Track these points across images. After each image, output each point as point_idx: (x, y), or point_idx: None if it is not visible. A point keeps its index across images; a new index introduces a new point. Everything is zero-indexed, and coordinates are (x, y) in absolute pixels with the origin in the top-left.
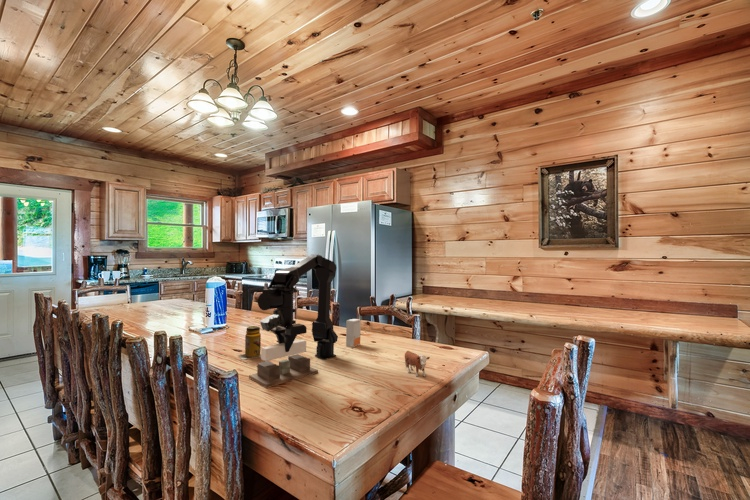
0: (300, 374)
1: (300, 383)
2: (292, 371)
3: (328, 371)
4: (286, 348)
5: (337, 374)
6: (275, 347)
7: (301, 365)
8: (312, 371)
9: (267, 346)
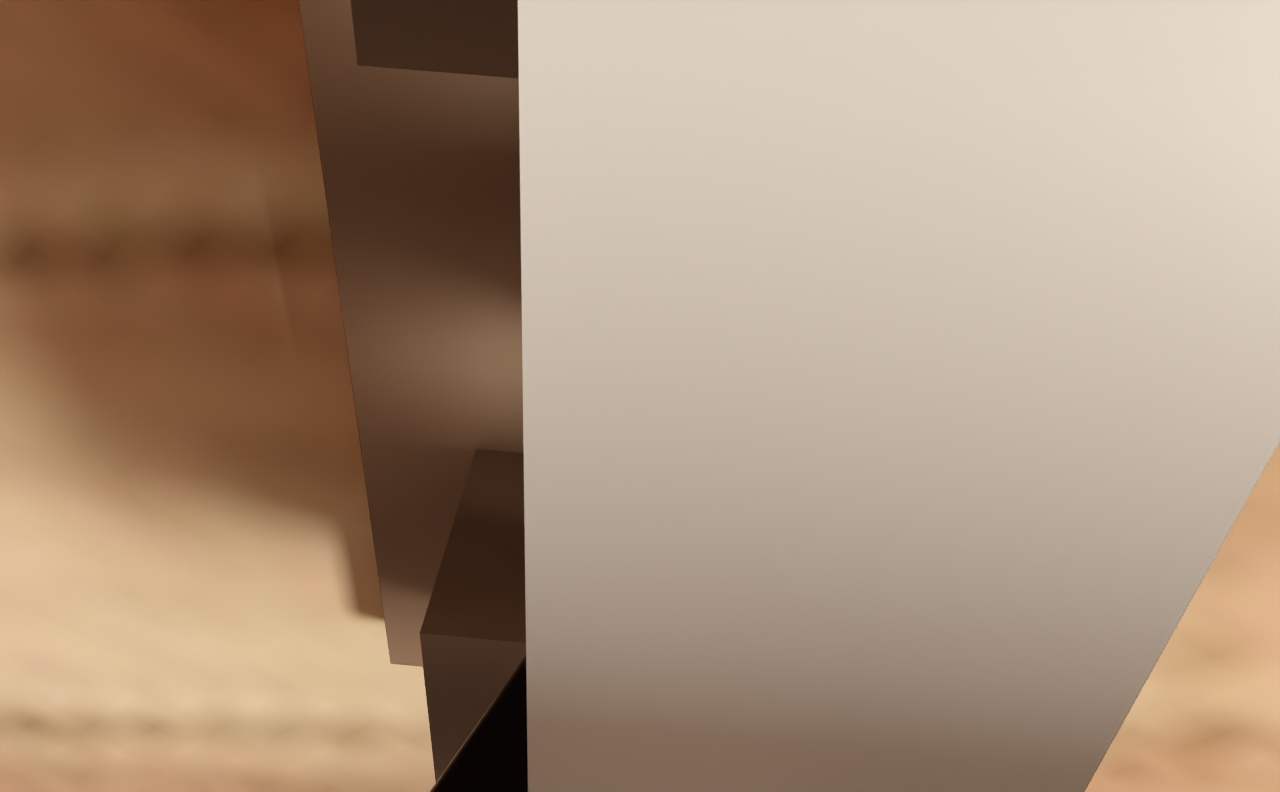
0: (375, 391)
1: (75, 167)
2: None
3: (355, 721)
4: (451, 772)
5: (160, 711)
6: (537, 486)
7: (446, 568)
8: (380, 586)
9: (1273, 242)
